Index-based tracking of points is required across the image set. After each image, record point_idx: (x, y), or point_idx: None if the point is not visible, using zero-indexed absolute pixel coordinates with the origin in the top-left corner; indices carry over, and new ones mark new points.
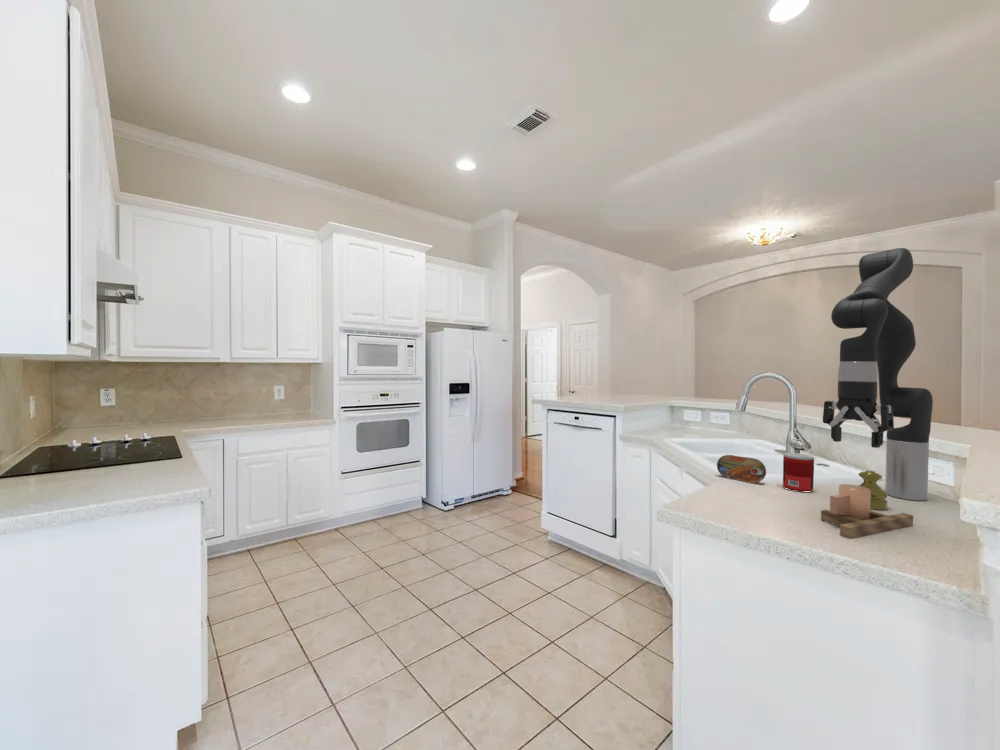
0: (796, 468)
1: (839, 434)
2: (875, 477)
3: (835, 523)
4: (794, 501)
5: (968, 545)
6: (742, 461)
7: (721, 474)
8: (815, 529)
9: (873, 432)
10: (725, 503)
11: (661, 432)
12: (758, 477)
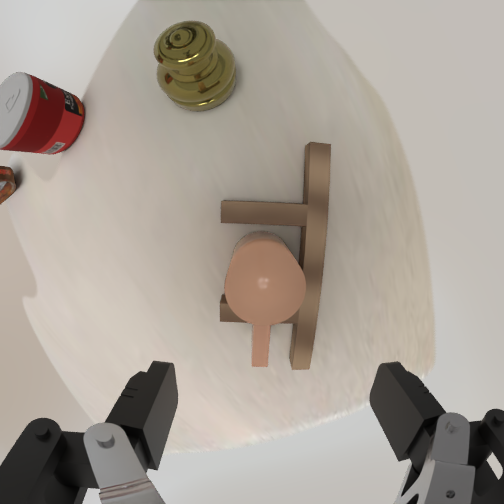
0: (31, 142)
1: (163, 404)
2: (207, 55)
3: None
4: (111, 230)
5: (411, 186)
6: None
7: None
8: (252, 367)
9: (407, 458)
10: (100, 375)
11: None
12: (8, 185)
